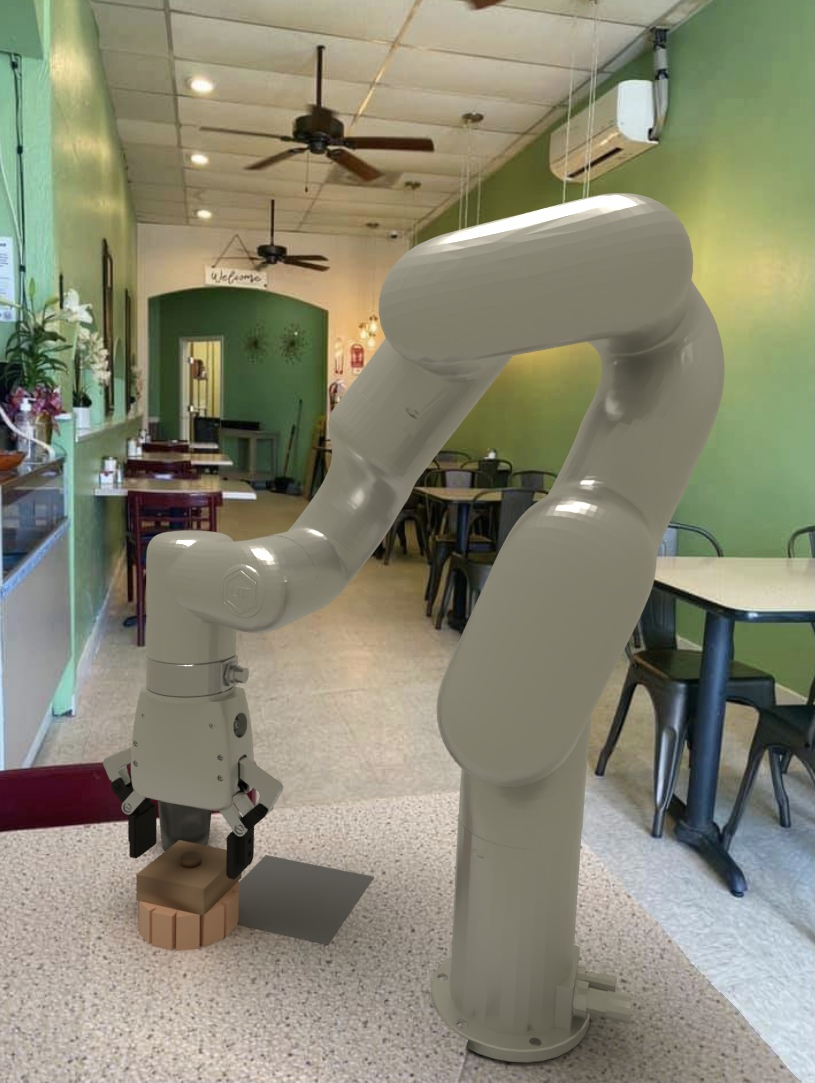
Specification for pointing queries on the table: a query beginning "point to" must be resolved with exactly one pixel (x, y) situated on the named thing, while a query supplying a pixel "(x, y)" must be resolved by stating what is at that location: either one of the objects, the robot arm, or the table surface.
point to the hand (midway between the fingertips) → (190, 861)
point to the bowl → (188, 923)
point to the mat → (298, 898)
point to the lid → (185, 878)
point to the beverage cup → (183, 824)
